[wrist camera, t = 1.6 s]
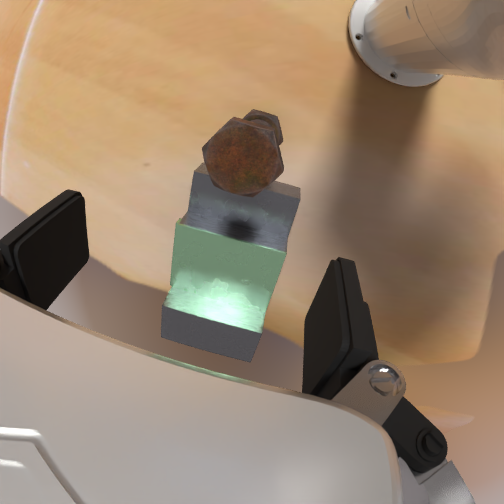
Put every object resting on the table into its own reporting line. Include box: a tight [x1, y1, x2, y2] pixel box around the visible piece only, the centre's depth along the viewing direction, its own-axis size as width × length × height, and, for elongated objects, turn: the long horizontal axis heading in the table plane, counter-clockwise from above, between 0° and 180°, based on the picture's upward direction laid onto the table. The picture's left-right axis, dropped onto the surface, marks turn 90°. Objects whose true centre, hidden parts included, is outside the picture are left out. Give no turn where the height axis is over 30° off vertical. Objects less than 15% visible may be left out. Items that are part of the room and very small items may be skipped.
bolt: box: [202, 109, 284, 198], centre depth 26 cm, size 6×5×15 cm
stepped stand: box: [161, 163, 300, 362], centre depth 37 cm, size 20×12×10 cm, turn 167°
